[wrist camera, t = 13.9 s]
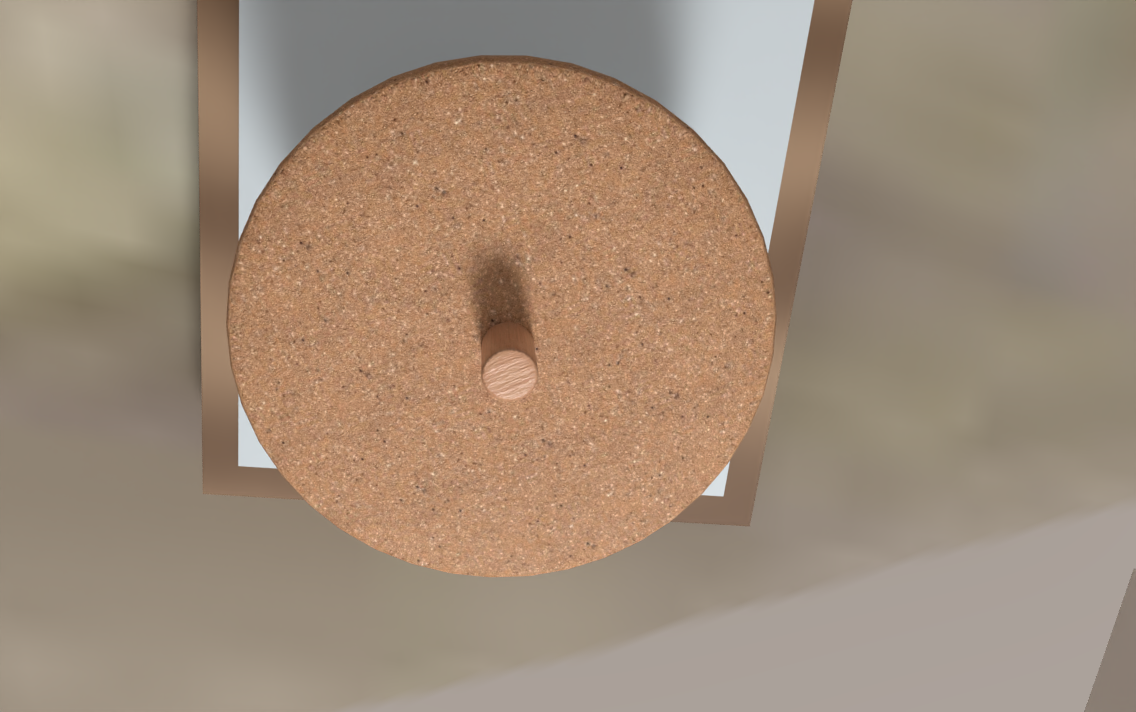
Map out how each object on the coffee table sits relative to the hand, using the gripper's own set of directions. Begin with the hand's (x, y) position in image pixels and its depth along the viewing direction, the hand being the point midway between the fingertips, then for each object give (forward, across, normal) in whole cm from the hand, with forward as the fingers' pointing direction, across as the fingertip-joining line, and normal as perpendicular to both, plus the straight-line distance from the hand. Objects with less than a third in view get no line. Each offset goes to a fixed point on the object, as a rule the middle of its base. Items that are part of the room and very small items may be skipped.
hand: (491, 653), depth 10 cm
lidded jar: (+18, 0, 0) cm, 18 cm away
